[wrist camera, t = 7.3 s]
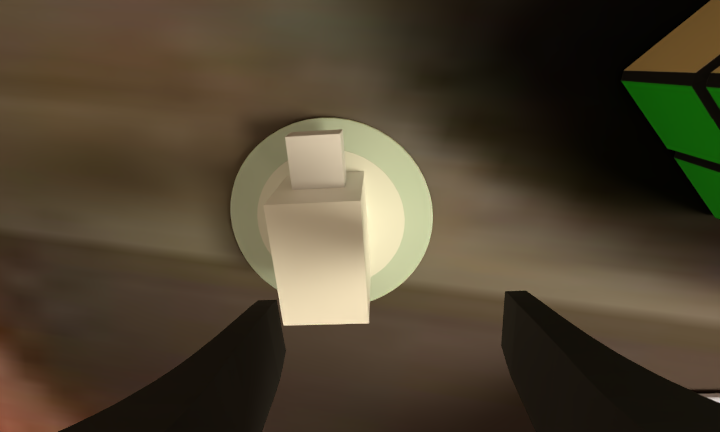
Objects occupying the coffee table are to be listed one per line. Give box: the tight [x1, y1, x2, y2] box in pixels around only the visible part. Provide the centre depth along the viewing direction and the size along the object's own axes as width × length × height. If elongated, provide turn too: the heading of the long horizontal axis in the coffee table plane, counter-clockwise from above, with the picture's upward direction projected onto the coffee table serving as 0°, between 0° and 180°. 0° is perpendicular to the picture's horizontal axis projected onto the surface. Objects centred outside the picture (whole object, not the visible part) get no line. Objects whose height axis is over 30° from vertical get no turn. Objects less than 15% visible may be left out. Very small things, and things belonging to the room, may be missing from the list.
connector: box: [263, 129, 371, 325], centre depth 18 cm, size 8×4×4 cm, turn 4°
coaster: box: [230, 117, 433, 301], centre depth 21 cm, size 11×11×1 cm
